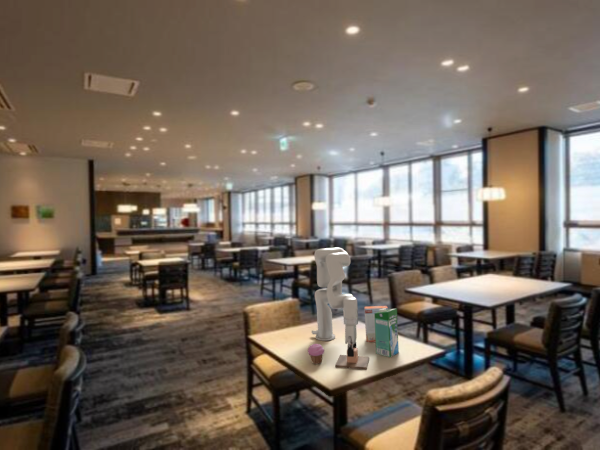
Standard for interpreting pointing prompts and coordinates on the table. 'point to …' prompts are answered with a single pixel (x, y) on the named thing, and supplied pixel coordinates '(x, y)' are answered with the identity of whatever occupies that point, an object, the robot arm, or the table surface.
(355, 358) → the terracotta block
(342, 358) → the serving board
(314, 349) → the cupcake
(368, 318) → the cracker box
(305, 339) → the table surface
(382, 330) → the milk carton
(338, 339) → the table surface
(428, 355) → the table surface
